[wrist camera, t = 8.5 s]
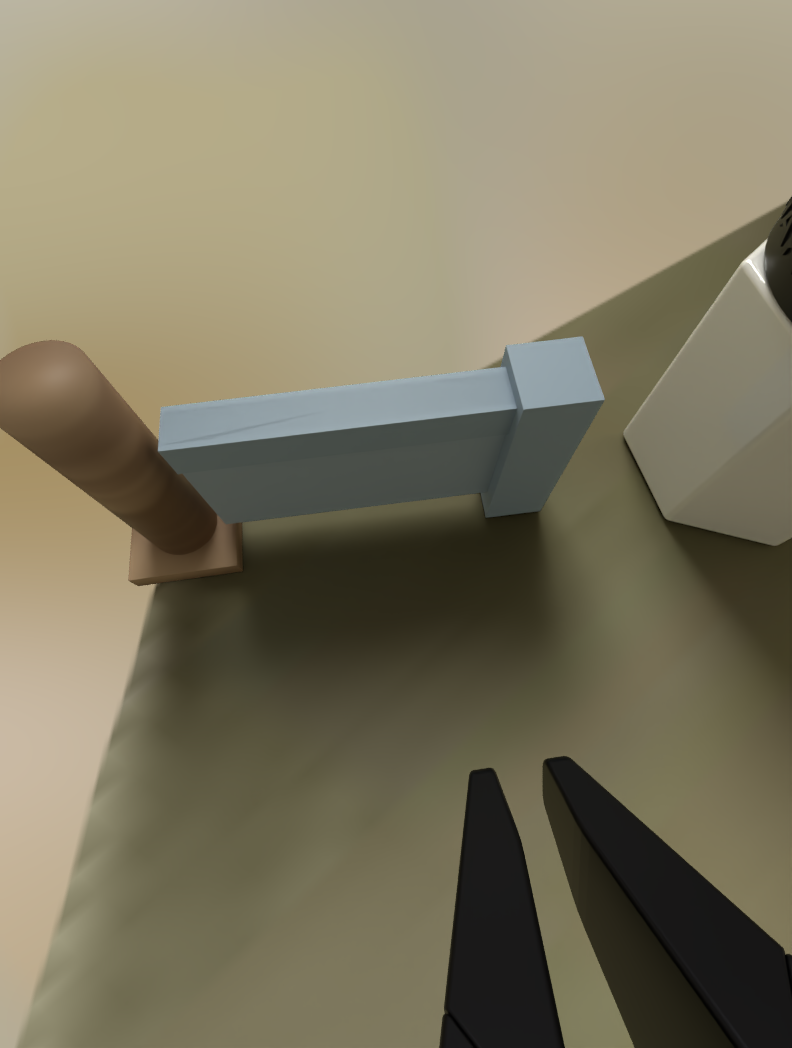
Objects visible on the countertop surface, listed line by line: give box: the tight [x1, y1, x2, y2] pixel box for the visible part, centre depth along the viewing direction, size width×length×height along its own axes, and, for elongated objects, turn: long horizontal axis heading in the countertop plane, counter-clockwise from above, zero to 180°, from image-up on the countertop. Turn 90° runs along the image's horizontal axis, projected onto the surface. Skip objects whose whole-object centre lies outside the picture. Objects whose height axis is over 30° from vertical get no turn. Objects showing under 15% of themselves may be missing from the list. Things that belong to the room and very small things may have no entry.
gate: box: [158, 337, 605, 524], centre depth 19 cm, size 13×2×8 cm, turn 97°
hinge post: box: [0, 340, 243, 586], centre depth 17 cm, size 4×4×10 cm
